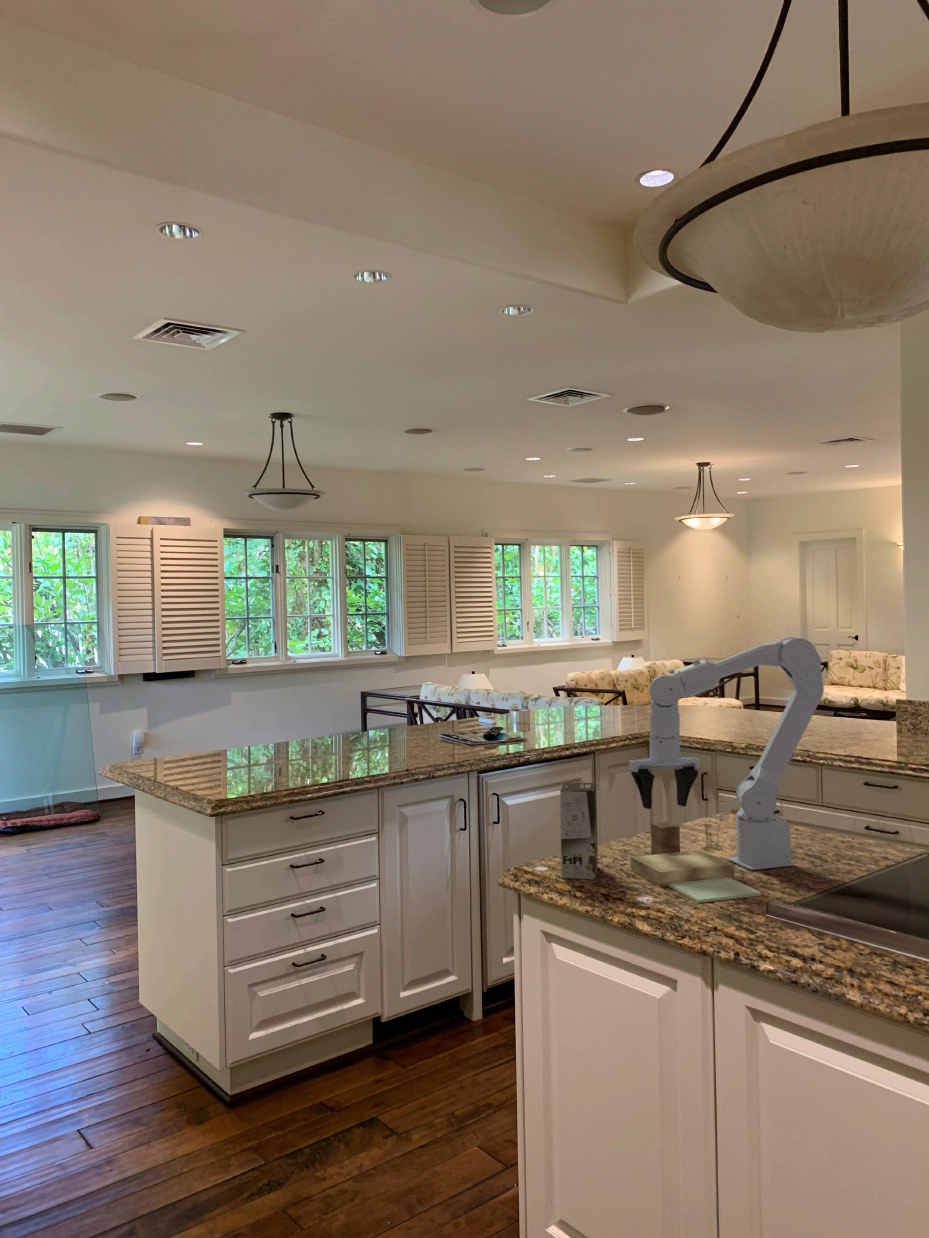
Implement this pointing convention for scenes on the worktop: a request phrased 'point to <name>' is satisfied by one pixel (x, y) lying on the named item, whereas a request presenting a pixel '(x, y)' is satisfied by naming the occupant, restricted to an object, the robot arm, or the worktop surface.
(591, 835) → the coffee box
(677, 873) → the maple board
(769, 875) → the worktop surface
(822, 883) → the worktop surface
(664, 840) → the walnut block
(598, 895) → the worktop surface
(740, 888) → the green mat
